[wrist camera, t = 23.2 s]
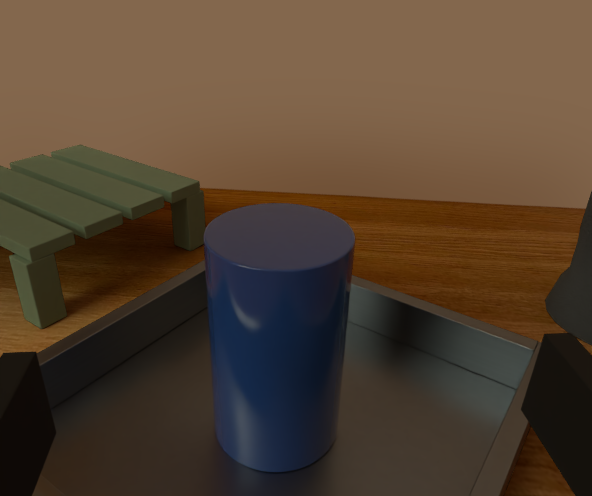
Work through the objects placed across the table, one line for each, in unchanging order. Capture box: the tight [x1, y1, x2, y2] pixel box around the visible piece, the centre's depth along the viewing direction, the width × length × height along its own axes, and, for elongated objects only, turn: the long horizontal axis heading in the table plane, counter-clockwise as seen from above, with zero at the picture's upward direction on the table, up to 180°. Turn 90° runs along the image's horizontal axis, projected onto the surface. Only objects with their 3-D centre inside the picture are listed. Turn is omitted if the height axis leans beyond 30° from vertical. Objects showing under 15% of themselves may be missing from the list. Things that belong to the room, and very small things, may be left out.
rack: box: [0, 145, 205, 329], centre depth 44 cm, size 16×16×6 cm
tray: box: [32, 260, 541, 496], centre depth 27 cm, size 22×22×4 cm
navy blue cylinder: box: [203, 203, 355, 472], centre depth 25 cm, size 6×6×11 cm
